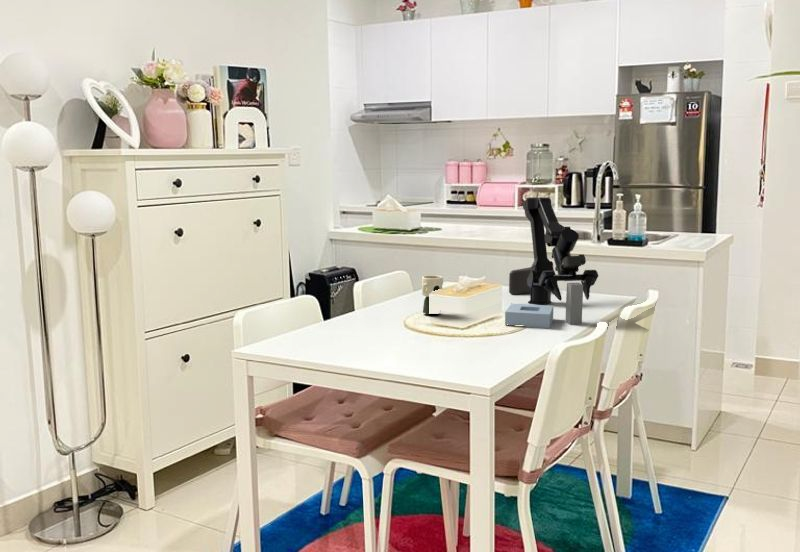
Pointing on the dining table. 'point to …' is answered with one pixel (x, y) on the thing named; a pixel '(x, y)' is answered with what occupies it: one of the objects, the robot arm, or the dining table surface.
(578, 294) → the gray block
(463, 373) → the dining table surface
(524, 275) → the leaning round-cornered charcoal block
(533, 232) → the robot arm
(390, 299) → the dining table surface
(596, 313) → the dining table surface
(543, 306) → the socket block
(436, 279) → the character mug
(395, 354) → the dining table surface
